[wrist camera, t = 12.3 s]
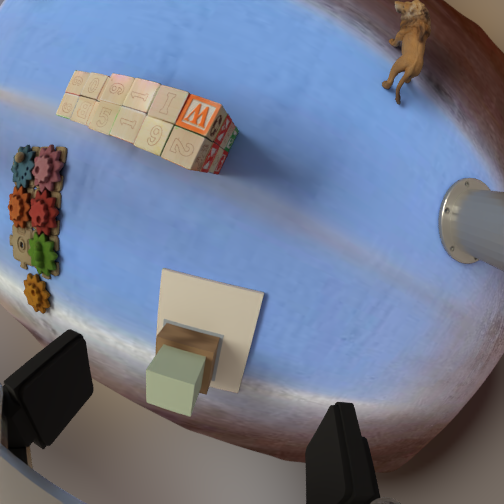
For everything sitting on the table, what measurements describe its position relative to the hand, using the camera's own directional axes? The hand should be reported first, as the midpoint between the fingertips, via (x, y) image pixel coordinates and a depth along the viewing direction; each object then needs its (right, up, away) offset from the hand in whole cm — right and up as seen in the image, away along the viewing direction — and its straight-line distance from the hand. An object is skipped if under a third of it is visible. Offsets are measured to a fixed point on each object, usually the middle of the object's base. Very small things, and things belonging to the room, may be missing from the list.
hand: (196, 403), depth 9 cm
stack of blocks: (-10, +22, +24) cm, 35 cm away
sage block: (-8, -11, +27) cm, 30 cm away
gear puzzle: (-37, +9, +30) cm, 49 cm away
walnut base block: (-7, -10, +31) cm, 33 cm away
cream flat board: (-5, -7, +31) cm, 32 cm away
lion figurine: (+22, +32, +19) cm, 43 cm away
